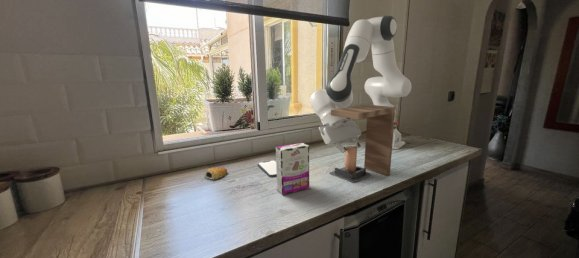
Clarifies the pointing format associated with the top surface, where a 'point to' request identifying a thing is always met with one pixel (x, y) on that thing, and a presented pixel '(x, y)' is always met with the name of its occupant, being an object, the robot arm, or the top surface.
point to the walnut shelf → (374, 134)
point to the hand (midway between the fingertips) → (352, 149)
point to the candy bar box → (292, 168)
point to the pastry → (215, 173)
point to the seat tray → (350, 174)
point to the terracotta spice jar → (350, 159)
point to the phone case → (268, 168)
